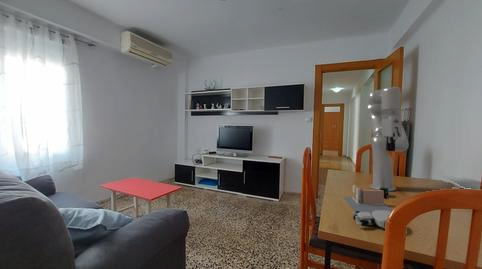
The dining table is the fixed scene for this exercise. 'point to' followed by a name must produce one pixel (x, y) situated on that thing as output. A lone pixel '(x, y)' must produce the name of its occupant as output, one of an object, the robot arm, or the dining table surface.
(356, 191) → the fixed fence panel
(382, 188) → the black block
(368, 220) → the robot toy
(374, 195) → the folding fence panel
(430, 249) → the dining table surface
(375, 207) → the board
